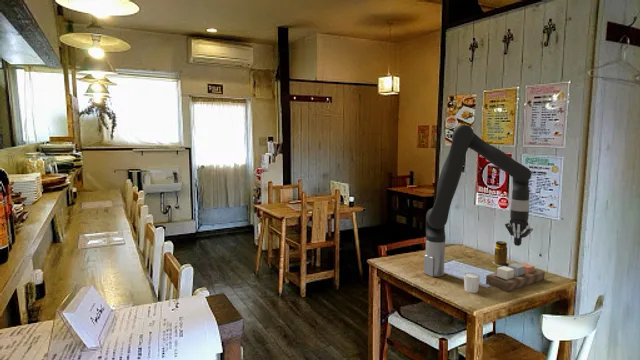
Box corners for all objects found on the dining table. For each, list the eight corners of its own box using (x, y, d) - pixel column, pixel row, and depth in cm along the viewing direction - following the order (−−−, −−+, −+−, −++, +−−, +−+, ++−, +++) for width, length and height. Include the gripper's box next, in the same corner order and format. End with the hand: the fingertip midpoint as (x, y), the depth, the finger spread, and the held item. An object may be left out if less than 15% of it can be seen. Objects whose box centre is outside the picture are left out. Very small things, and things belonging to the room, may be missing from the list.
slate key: (517, 276, 177) (518, 268, 177) (507, 273, 181) (508, 264, 181) (524, 274, 180) (524, 266, 179) (514, 271, 184) (514, 263, 183)
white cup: (460, 287, 175) (461, 272, 174) (474, 286, 176) (475, 272, 175) (467, 293, 168) (468, 278, 167) (482, 293, 169) (483, 277, 168)
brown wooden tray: (507, 292, 169) (507, 283, 169) (485, 283, 179) (486, 275, 178) (544, 279, 183) (544, 271, 183) (522, 272, 193) (522, 265, 192)
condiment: (491, 261, 209) (492, 240, 208) (506, 261, 209) (507, 240, 208) (497, 266, 202) (498, 244, 201) (513, 266, 202) (514, 244, 201)
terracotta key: (527, 276, 181) (528, 267, 181) (517, 272, 186) (518, 264, 185) (534, 274, 184) (534, 266, 183) (524, 270, 188) (524, 263, 187)
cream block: (506, 279, 173) (507, 271, 173) (496, 276, 178) (497, 267, 177) (513, 277, 176) (514, 269, 175) (503, 274, 180) (504, 266, 180)
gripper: (501, 207, 181) (499, 243, 183) (528, 212, 169) (526, 250, 171) (511, 205, 184) (509, 240, 186) (538, 210, 173) (536, 247, 175)
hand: (517, 245), depth 179 cm, fingers closed
